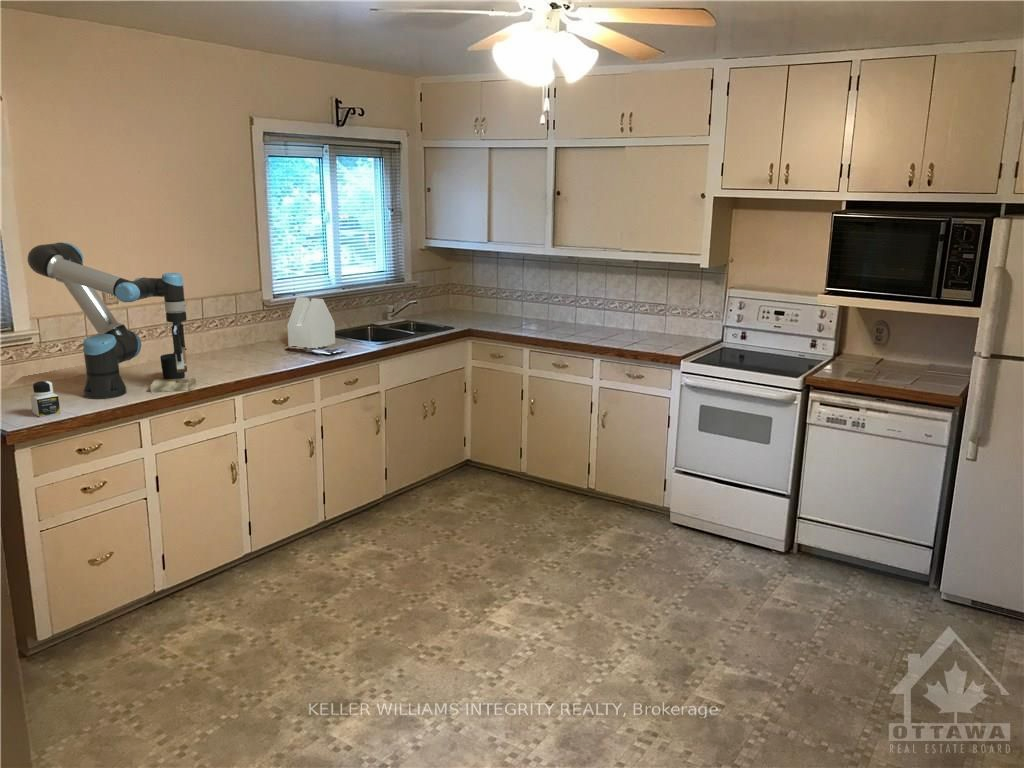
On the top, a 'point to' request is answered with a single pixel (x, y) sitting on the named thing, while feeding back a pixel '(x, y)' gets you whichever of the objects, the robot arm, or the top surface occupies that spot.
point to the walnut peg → (184, 362)
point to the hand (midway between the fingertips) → (181, 367)
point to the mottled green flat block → (173, 385)
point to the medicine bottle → (44, 399)
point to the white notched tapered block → (310, 324)
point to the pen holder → (170, 367)
